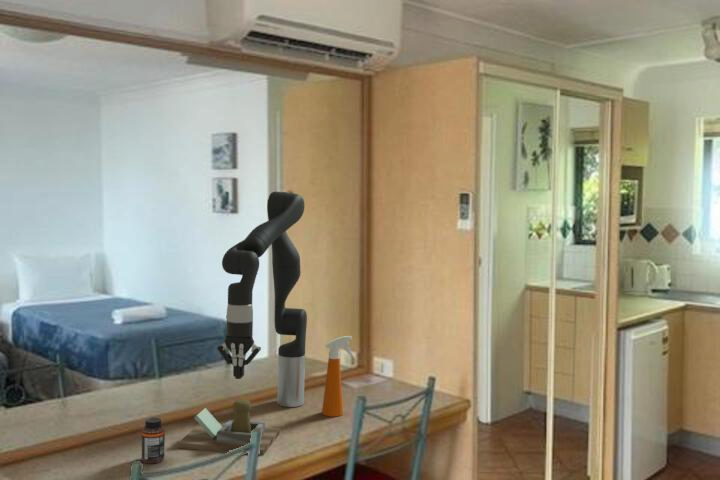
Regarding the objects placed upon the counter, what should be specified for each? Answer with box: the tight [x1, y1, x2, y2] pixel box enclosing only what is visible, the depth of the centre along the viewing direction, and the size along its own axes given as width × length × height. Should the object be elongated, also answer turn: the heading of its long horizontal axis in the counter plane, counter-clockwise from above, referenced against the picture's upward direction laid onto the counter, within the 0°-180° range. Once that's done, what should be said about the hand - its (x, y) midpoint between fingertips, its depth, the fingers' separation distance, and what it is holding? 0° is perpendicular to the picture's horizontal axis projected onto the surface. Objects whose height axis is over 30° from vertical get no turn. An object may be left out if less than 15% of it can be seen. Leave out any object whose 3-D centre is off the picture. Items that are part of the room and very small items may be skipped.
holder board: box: [177, 419, 281, 456], centre depth 208 cm, size 18×25×4 cm
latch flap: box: [193, 407, 222, 439], centre depth 207 cm, size 7×8×1 cm
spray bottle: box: [321, 335, 357, 418], centre depth 235 cm, size 7×11×26 cm, turn 94°
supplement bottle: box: [141, 416, 166, 464], centre depth 191 cm, size 6×6×11 cm
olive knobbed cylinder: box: [232, 399, 252, 433], centre depth 206 cm, size 6×6×11 cm
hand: (238, 378), depth 205 cm, fingers closed
